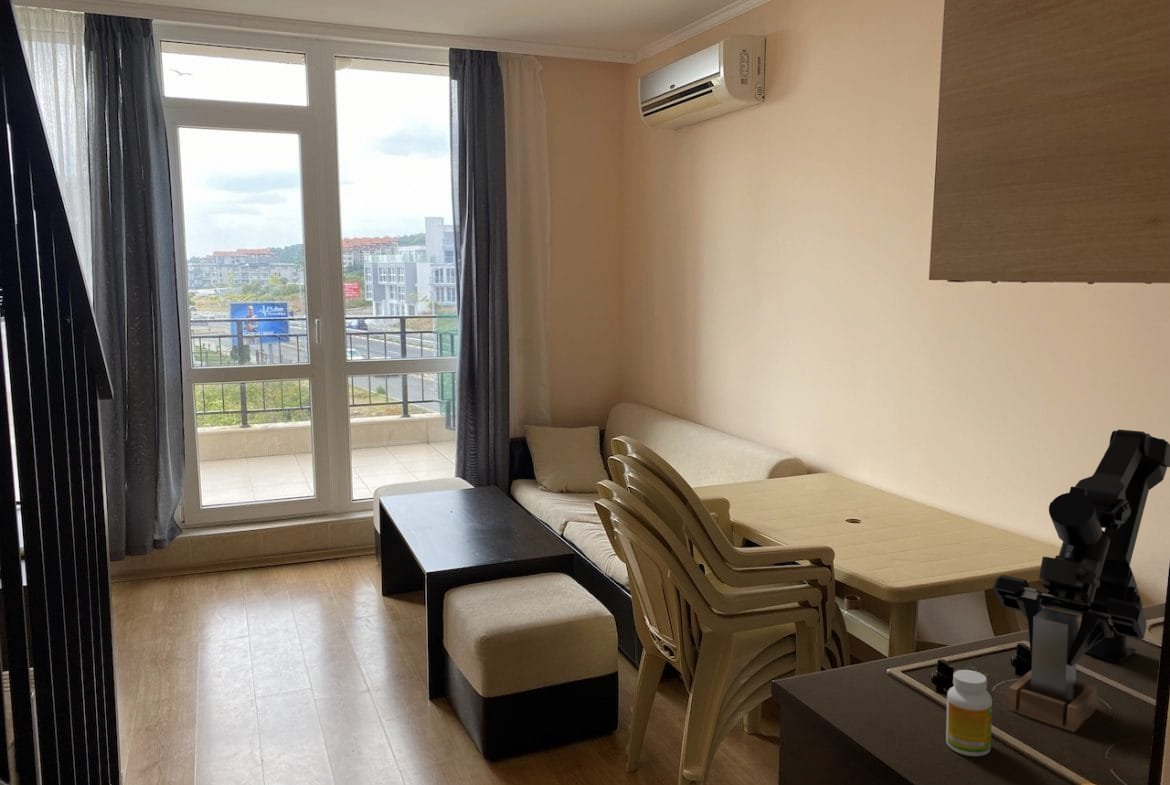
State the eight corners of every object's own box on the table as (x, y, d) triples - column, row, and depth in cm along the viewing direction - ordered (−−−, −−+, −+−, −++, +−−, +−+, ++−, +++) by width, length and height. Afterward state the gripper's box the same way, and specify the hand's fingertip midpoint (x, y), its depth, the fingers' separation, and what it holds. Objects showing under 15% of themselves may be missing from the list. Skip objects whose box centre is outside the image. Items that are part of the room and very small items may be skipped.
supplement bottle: (995, 759, 111) (997, 687, 110) (950, 755, 112) (952, 684, 111) (985, 737, 116) (987, 668, 115) (942, 734, 117) (943, 665, 116)
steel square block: (1041, 690, 126) (1044, 607, 124) (1074, 700, 123) (1078, 615, 121) (1030, 701, 123) (1033, 616, 121) (1064, 711, 120) (1068, 624, 118)
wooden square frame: (1031, 691, 129) (1032, 668, 129) (1096, 711, 123) (1097, 687, 122) (1008, 711, 123) (1008, 687, 123) (1074, 734, 117) (1075, 708, 117)
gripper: (999, 522, 129) (967, 615, 123) (1145, 547, 116) (1117, 652, 110) (1017, 560, 136) (987, 650, 129) (1157, 587, 122) (1131, 689, 116)
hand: (1050, 659), depth 121 cm, fingers closed on steel square block, 4 cm apart
